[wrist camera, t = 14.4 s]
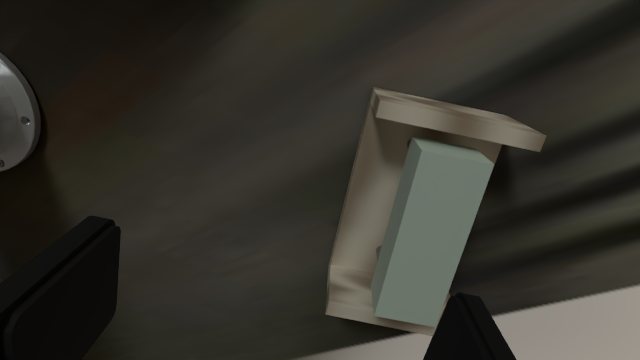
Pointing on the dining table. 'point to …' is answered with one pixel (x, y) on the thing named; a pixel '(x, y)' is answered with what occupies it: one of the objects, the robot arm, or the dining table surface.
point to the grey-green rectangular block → (428, 229)
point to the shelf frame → (382, 183)
